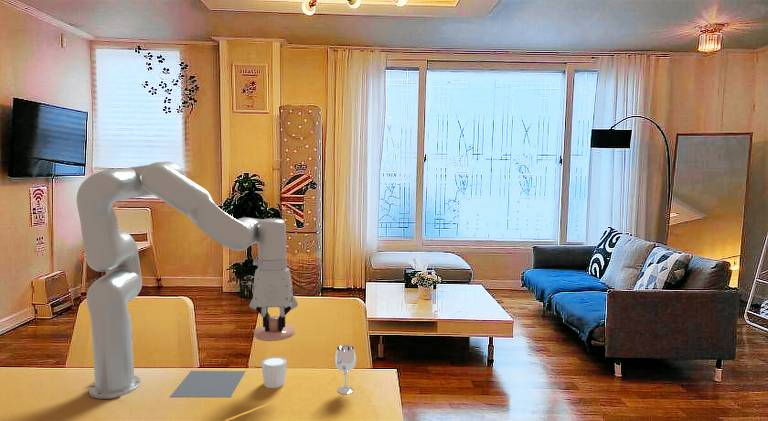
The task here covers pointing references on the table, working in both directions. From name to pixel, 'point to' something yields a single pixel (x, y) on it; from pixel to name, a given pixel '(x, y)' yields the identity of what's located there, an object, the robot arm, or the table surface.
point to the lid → (274, 331)
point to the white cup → (274, 372)
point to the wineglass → (345, 364)
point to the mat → (209, 384)
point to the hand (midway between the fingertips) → (274, 329)
